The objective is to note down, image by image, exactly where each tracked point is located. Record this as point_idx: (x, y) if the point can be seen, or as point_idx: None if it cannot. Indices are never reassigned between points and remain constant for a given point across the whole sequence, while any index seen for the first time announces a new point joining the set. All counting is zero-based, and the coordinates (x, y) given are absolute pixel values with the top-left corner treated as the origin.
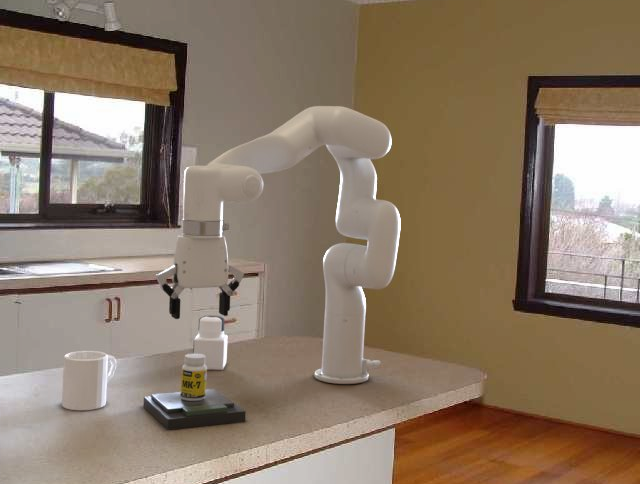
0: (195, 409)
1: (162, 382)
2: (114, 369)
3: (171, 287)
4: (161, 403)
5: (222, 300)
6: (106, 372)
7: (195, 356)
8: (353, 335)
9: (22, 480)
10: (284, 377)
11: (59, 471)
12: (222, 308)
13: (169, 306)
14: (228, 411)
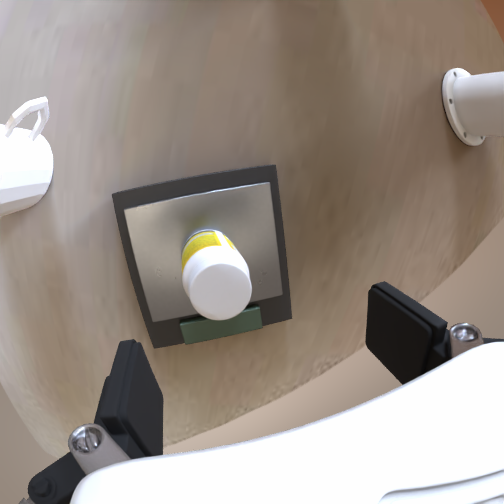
0: (202, 336)
1: (188, 18)
2: (45, 112)
3: (86, 474)
4: (141, 282)
5: (405, 359)
6: (20, 180)
7: (220, 301)
8: None
9: (40, 434)
10: (407, 63)
11: (59, 428)
12: (382, 341)
13: (102, 397)
14: (263, 318)
